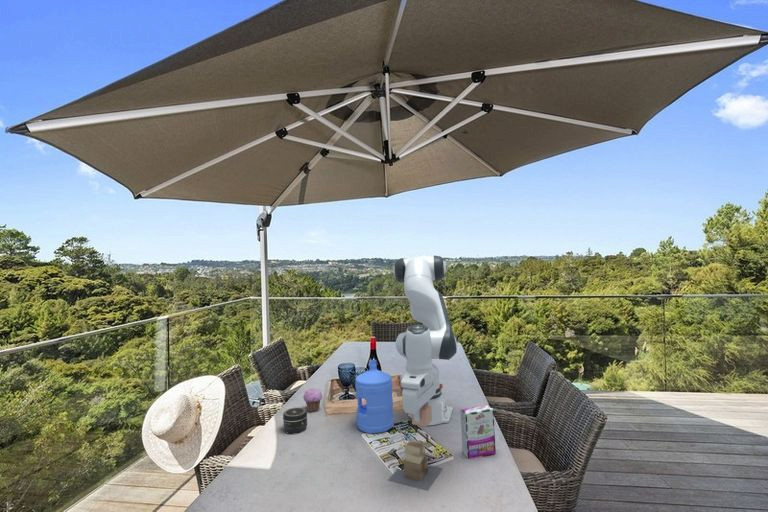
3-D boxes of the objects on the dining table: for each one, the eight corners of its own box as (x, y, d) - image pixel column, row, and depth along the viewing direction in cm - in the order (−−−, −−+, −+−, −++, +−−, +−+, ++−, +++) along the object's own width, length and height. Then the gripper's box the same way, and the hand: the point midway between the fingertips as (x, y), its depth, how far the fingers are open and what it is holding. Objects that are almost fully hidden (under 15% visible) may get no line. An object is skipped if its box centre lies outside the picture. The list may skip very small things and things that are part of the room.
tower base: (411, 467, 141) (410, 453, 141) (427, 471, 138) (427, 456, 138) (404, 476, 136) (403, 461, 136) (420, 480, 133) (420, 465, 133)
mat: (405, 460, 147) (405, 459, 147) (443, 469, 140) (443, 468, 140) (387, 481, 134) (387, 480, 134) (427, 491, 128) (427, 490, 128)
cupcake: (302, 408, 199) (301, 388, 199) (319, 405, 203) (318, 384, 202) (306, 415, 191) (305, 393, 191) (325, 411, 195) (324, 390, 194)
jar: (294, 436, 169) (293, 418, 169) (278, 431, 175) (277, 413, 175) (312, 427, 177) (311, 410, 177) (296, 422, 183) (296, 405, 183)
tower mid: (411, 454, 140) (411, 439, 140) (425, 457, 138) (424, 442, 138) (405, 461, 136) (404, 446, 136) (419, 464, 134) (418, 449, 134)
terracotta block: (417, 418, 140) (417, 403, 140) (431, 420, 138) (431, 405, 138) (412, 424, 136) (411, 408, 136) (426, 426, 133) (425, 411, 133)
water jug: (395, 418, 183) (392, 355, 183) (392, 434, 168) (389, 365, 167) (360, 418, 185) (357, 355, 184) (354, 434, 169) (351, 366, 169)
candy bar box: (489, 448, 153) (487, 404, 153) (496, 454, 149) (494, 409, 148) (461, 453, 150) (459, 408, 150) (467, 459, 146) (466, 413, 145)
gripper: (422, 365, 147) (424, 404, 147) (398, 383, 129) (400, 427, 129) (439, 367, 144) (441, 407, 145) (417, 385, 126) (418, 431, 126)
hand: (421, 417), depth 137 cm, fingers closed on terracotta block, 5 cm apart
